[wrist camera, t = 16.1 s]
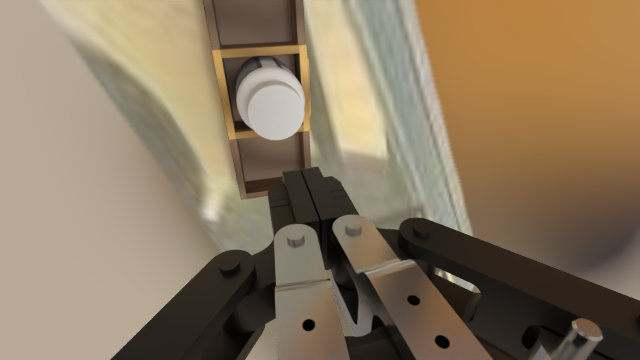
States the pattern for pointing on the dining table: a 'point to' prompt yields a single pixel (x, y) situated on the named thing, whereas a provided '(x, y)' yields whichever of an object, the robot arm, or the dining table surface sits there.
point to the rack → (229, 55)
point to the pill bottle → (269, 98)
